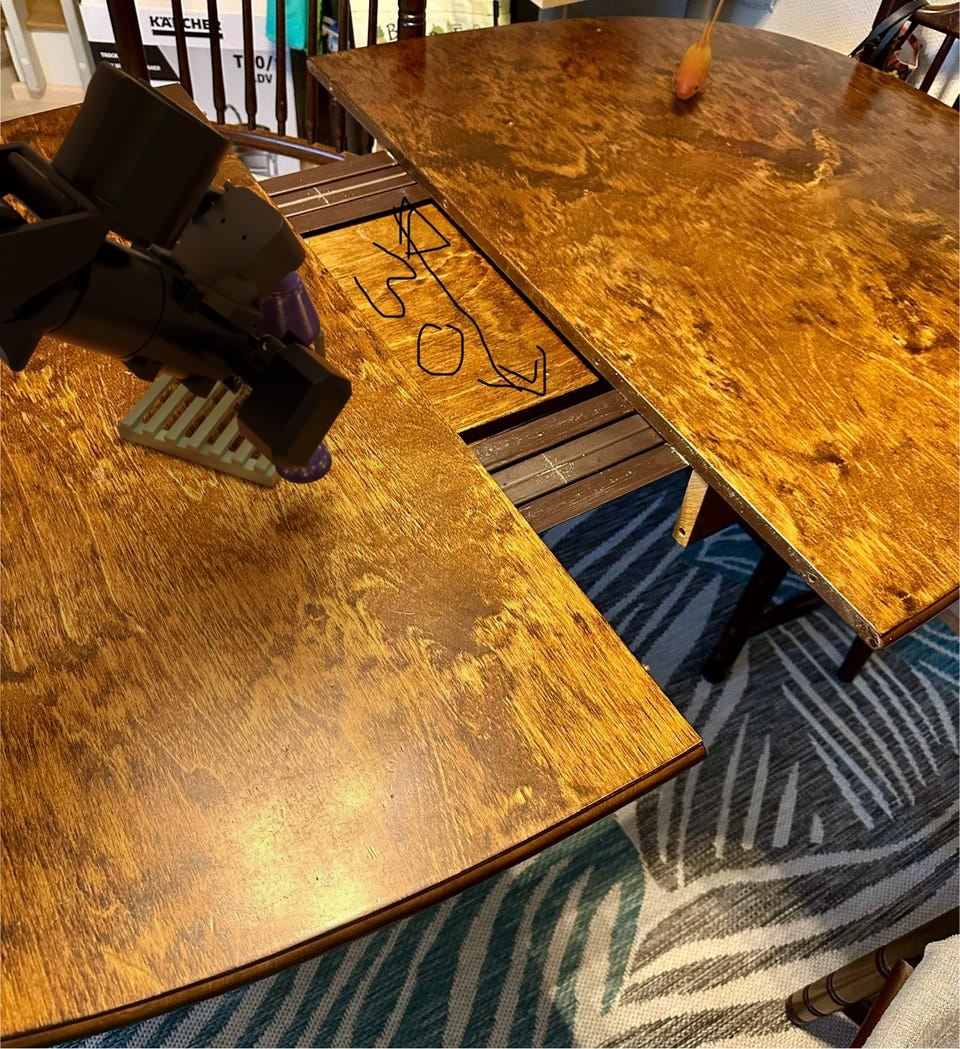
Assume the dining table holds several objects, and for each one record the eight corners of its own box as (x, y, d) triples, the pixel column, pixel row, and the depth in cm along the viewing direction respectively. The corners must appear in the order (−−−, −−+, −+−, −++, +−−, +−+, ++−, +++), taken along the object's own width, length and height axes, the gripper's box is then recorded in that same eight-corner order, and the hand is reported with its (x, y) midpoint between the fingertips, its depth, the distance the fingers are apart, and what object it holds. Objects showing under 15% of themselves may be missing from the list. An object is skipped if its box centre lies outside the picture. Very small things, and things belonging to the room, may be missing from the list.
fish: (694, 131, 117) (715, 55, 109) (654, 121, 118) (671, 44, 110) (729, 53, 129) (750, -21, 121) (692, 44, 130) (710, -31, 122)
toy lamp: (312, 496, 65) (294, 310, 52) (254, 476, 66) (223, 287, 53) (341, 453, 68) (332, 266, 55) (286, 434, 69) (264, 245, 56)
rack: (119, 437, 74) (98, 374, 69) (196, 349, 82) (183, 285, 76) (272, 488, 72) (263, 426, 67) (337, 392, 79) (333, 330, 74)
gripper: (315, 258, 42) (467, 347, 56) (106, 98, 50) (285, 211, 63) (196, 451, 44) (370, 490, 58) (13, 270, 52) (206, 343, 66)
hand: (306, 375), depth 61 cm, fingers closed on toy lamp, 4 cm apart
